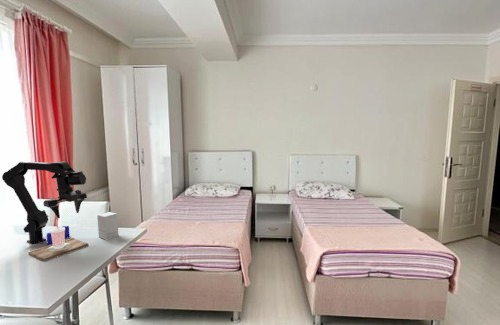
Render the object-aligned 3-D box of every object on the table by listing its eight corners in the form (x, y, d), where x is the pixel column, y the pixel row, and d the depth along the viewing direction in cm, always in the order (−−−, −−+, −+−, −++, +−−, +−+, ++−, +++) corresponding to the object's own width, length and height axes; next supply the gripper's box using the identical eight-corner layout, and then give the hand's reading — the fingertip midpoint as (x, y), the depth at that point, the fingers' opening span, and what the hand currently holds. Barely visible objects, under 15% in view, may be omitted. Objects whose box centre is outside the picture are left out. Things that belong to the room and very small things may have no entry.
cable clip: (61, 236, 158) (61, 225, 158) (69, 236, 158) (68, 226, 157) (44, 245, 146) (43, 233, 146) (53, 245, 146) (52, 233, 145)
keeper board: (28, 254, 135) (28, 251, 134) (73, 240, 152) (72, 237, 152) (43, 261, 127) (43, 258, 127) (88, 245, 145) (88, 242, 144)
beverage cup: (52, 245, 141) (50, 218, 139) (67, 243, 143) (65, 216, 142) (50, 250, 135) (47, 221, 134) (65, 248, 138) (63, 219, 136)
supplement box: (119, 235, 158) (117, 213, 157) (106, 240, 152) (104, 216, 151) (111, 233, 162) (109, 211, 161) (98, 237, 156) (96, 214, 155)
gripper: (51, 190, 136) (56, 222, 138) (90, 183, 152) (94, 211, 153) (40, 189, 142) (45, 220, 144) (79, 182, 158) (83, 210, 159)
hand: (68, 215), depth 150 cm, fingers open, 9 cm apart
